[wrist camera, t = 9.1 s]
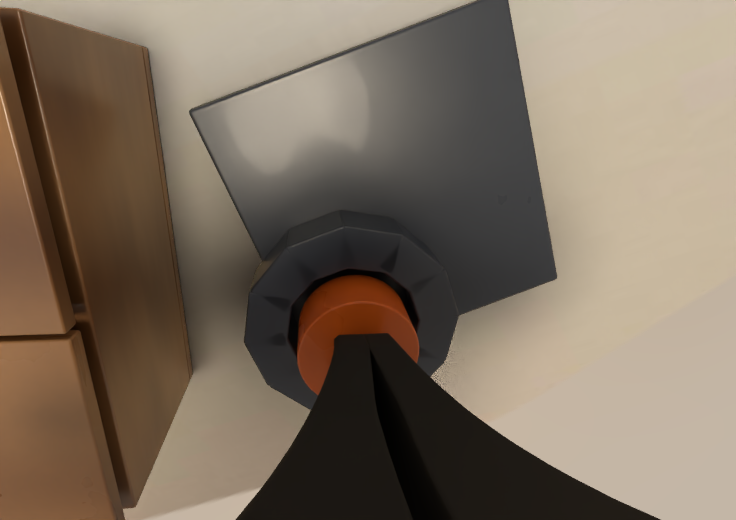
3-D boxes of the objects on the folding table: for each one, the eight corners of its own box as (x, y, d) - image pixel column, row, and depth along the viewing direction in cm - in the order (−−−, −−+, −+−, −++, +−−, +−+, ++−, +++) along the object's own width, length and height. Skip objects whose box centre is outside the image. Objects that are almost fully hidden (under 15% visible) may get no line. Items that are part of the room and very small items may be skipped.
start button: (418, 346, 13) (433, 381, 11) (322, 381, 13) (324, 422, 11) (386, 257, 12) (398, 283, 10) (280, 297, 12) (276, 329, 10)
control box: (544, 288, 16) (593, 329, 13) (299, 380, 16) (297, 439, 13) (488, -1, 12) (541, -30, 9) (165, 122, 12) (122, 128, 9)
